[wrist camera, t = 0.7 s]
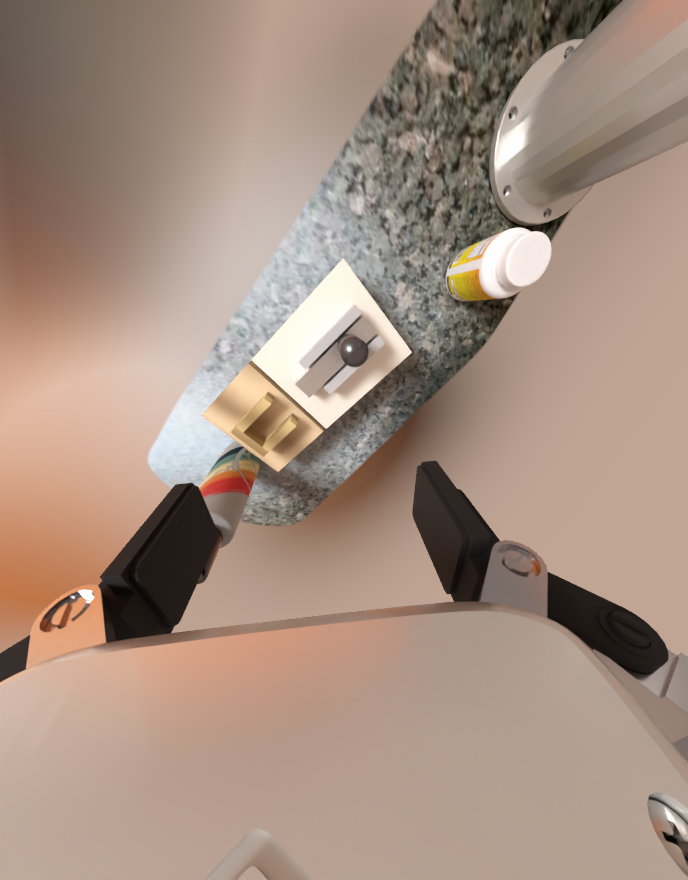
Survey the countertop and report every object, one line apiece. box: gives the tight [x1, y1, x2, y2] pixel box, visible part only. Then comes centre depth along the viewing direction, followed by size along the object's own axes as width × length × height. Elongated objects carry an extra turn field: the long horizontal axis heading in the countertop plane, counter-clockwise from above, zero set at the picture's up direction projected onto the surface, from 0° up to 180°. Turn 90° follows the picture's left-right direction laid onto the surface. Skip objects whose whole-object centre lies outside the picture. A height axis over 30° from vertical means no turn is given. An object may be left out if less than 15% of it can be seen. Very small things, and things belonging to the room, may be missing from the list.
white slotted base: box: [252, 259, 412, 429], centre depth 29 cm, size 14×12×7 cm
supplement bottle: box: [446, 228, 551, 301], centre depth 26 cm, size 6×6×10 cm
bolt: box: [295, 315, 377, 398], centre depth 25 cm, size 10×2×7 cm, turn 132°
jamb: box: [201, 361, 324, 472], centre depth 32 cm, size 9×12×7 cm
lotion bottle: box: [197, 442, 261, 584], centre depth 30 cm, size 6×6×20 cm
